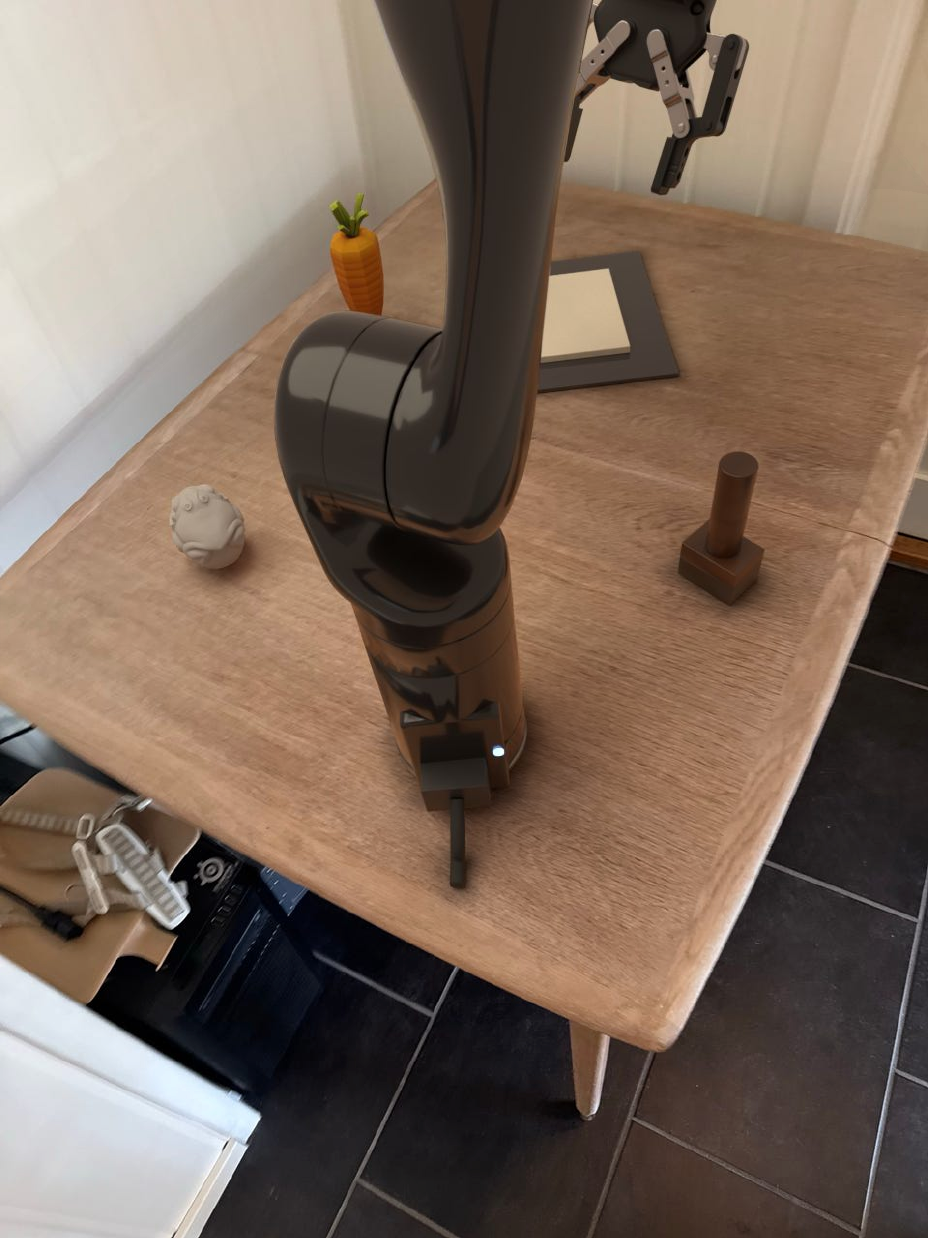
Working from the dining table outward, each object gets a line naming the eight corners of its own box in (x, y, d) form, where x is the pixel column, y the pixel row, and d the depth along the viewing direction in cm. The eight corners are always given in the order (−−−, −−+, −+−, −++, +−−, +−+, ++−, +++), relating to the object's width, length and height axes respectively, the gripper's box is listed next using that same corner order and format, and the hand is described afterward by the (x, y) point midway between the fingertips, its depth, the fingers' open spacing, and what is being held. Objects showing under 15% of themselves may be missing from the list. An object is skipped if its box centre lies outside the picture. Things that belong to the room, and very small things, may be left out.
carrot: (387, 315, 96) (361, 178, 84) (401, 339, 93) (376, 200, 81) (344, 328, 95) (311, 192, 83) (357, 353, 92) (324, 215, 80)
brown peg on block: (757, 579, 69) (786, 466, 59) (729, 606, 68) (753, 494, 58) (705, 547, 71) (725, 434, 62) (677, 572, 70) (692, 461, 61)
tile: (678, 376, 85) (679, 366, 84) (493, 398, 86) (492, 388, 85) (638, 253, 98) (639, 243, 97) (478, 273, 99) (477, 263, 98)
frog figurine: (239, 518, 79) (213, 460, 74) (269, 565, 75) (244, 508, 70) (176, 548, 78) (145, 491, 72) (204, 598, 74) (173, 542, 68)
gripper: (567, -126, 57) (505, 149, 66) (774, -83, 52) (677, 206, 61) (611, -98, 63) (548, 151, 72) (801, -57, 58) (709, 204, 67)
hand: (608, 176), depth 66 cm, fingers open, 8 cm apart
